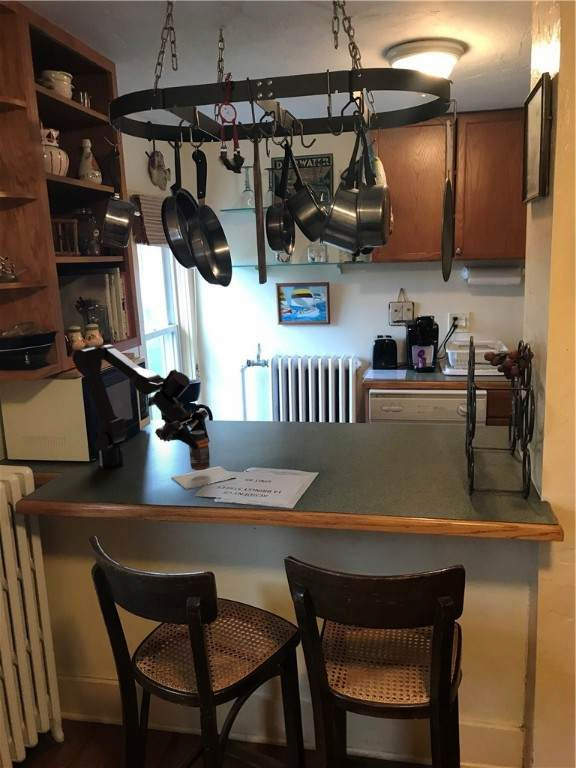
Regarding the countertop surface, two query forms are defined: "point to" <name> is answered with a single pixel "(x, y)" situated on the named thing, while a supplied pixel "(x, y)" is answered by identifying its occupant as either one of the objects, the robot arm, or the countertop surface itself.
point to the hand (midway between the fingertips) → (202, 445)
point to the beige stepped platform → (199, 477)
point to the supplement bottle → (200, 451)
